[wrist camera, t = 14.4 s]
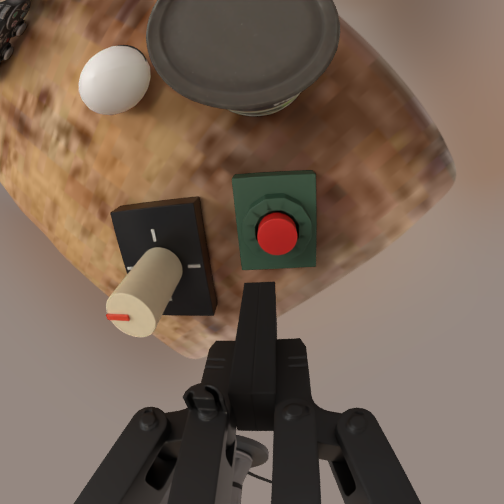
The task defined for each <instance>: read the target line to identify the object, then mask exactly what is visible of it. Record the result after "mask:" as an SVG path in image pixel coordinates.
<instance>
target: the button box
mask: <svg viewBox="0 0 504 504" xmlns="http://www.w3.org/2000/svg"><path fill="white" fill-rule="evenodd" d="M232 186H233V195H234V204H235V213H236V222H237V231H238V240H239V249H240V257H241V266H242V270H257V269H278V268H299V267H316V174H315V173H314V172H313V171H312V170H302V171H279V172H262V173H248V174H235V175H234V176H233V178H232ZM271 213H283V214H286V215H288V216H289V217H290V218H291V219H292V220H293V221H294V223H295V226H296V230H297V236H298V237H297V242H296V245H295V246H294V248H293V249H292V250H291V251H289V252H288V253H286V254H283V255H272V254H269V253H267V252H265V251H264V250H263V249H262V248H261V247H260V245H259V243H258V239H257V235H258V227H259V224H260V222H261V220H262V219H263V218H264V217H265V216H267V215H269V214H271Z"/></svg>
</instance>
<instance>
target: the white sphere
mask: <svg viewBox="0 0 504 504" xmlns="http://www.w3.org/2000/svg"><path fill="white" fill-rule="evenodd" d="M150 78H151V75H150V66H149V64H148V61H147V59H146V58H145V56H144V55H143V53H142V52H141V51H140V50H138V49H137V48H135V47H133V46H129V45H118V46H112V47H109V48H107V49H104V50H102V51H100V52H98V53H97V54H96V55H94V56H93V57H92V58H91V59H90V60H89V61H88V62H87V64H86V65H85V66H84V68H83V70H82V72H81V75H80V80H79V93H80V96H81V98H82V100H83V102H84V103H85V104H86V105H87V106H88V108H89V109H90V110H92V111H94V112H96V113H99V114H104V115H114V114H118V113H122V112H125V111H127V110H129V109H130V108H132V107H134V106H135V105H136V104H137V103H138V102H139V101H140V100H141V99H142V98H143V96H144V94H145V93H146V91H147V89H148V86H149V82H150Z"/></svg>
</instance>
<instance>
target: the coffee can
mask: <svg viewBox="0 0 504 504" xmlns="http://www.w3.org/2000/svg"><path fill="white" fill-rule="evenodd" d="M339 37H340V22H339V17H338V12H337V9H336V6H335V5H334V2H333V0H157V2H156V4H155V6H154V7H153V9H152V12H151V14H150V17H149V20H148V25H147V32H146V41H147V49H148V53H149V57H150V59H151V62H152V64H153V66H154V67H155V70H156V71H157V73H158V74H159V76H160V77H161V78H162V79H163V80H164V81H165V82H166V84H167V85H169V86H170V87H171V88H172V89H173V90H175V91H176V92H178V93H179V94H181V95H182V96H184V97H186V98H188V99H190V100H192V101H195V102H198V103H201V104H204V105H207V106H211V107H216V108H221V109H228V110H229V111H232V112H234V113H237V114H241V115H246V116H263V115H269V114H272V113H275V112H277V111H280V110H282V109H283V108H285V107H287V106H288V105H289V104H291V103H292V102H293V101H294V100H295V99H296V98H297V96H298V95H299V94H300V93H301V92H302V91H303V90H305V89H306V88H308V87H309V86H311V85H312V84H313V83H314V82H315V81H316V80H317V79H318V78H319V77H320V76H321V75H322V74H323V73H324V72H325V70H326V69H327V67H328V66H329V64H330V63H331V61H332V59H333V57H334V55H335V53H336V51H337V47H338V43H339Z"/></svg>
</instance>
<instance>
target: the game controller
mask: <svg viewBox="0 0 504 504" xmlns="http://www.w3.org/2000/svg"><path fill="white" fill-rule="evenodd" d="M30 4H31V2H30V0H5V1H3V2H0V62H1V61H2V60H7V59H9V57H10V56H11V54H12V53H13V47H11V44H10V43H9V40H10V38H11V37H14V36H20V35H21V34H22V33H23V32H24V30H25V28H26V23H24V20H23V18H24V17H25V16H26V14H27V12H28V10H29V8H30Z"/></svg>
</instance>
